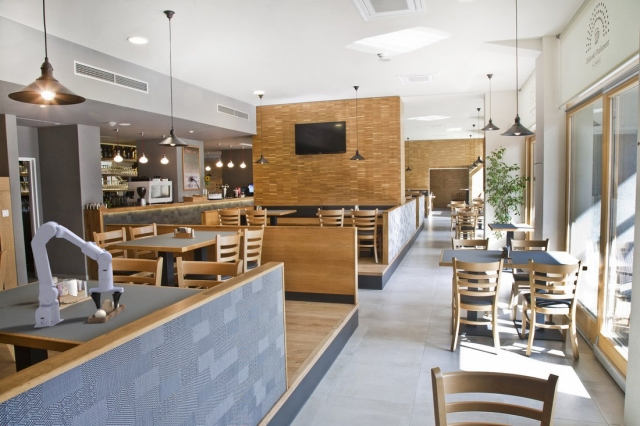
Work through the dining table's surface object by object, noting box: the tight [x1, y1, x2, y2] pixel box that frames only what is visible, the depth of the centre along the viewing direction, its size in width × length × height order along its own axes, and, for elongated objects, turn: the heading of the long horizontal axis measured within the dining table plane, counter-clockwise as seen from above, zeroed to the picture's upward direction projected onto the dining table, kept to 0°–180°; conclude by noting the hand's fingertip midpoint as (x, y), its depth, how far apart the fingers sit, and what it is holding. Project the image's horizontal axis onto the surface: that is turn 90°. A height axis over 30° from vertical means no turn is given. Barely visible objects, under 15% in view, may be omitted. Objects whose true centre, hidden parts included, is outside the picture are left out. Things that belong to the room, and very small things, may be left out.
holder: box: [87, 303, 127, 324], centre depth 200 cm, size 21×8×3 cm, turn 2°
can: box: [62, 277, 78, 296], centre depth 227 cm, size 6×6×12 cm
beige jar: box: [101, 299, 113, 313], centre depth 200 cm, size 4×4×7 cm
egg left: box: [94, 309, 106, 318], centre depth 193 cm, size 4×4×4 cm
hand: (107, 308), depth 200 cm, fingers open, 7 cm apart
